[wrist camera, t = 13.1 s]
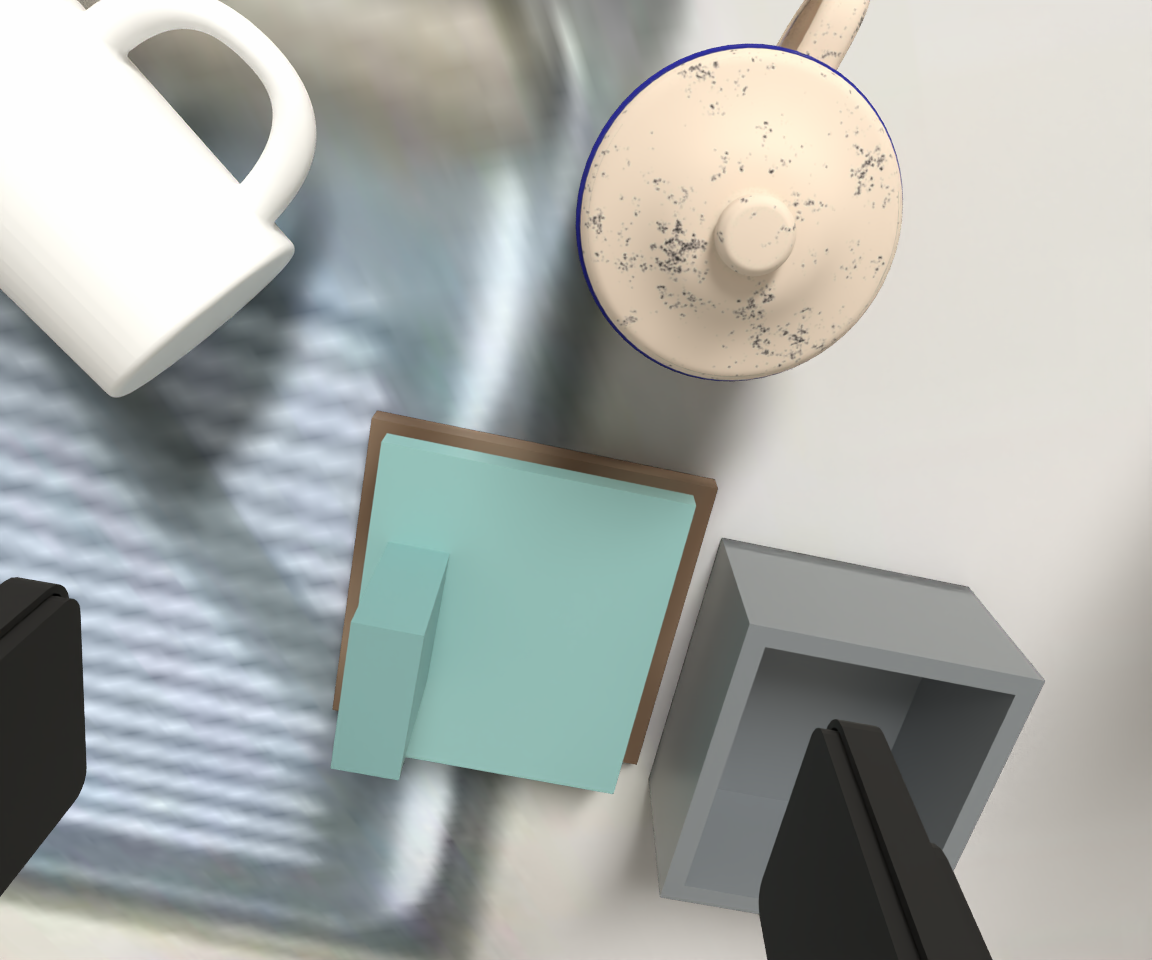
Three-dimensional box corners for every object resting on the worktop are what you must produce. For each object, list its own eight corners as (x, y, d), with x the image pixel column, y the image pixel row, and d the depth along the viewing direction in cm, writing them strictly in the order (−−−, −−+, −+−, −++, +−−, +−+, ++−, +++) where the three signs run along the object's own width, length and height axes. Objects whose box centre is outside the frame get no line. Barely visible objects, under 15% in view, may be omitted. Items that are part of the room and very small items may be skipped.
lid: (689, 483, 36) (717, 581, 29) (611, 760, 41) (617, 905, 34) (393, 423, 35) (340, 506, 28) (351, 713, 40) (296, 851, 33)
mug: (178, 365, 36) (72, 429, 28) (-26, 155, 33) (-204, 166, 25) (402, 165, 33) (349, 178, 25) (199, -83, 30) (73, -150, 23)
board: (714, 479, 37) (717, 488, 36) (635, 750, 42) (636, 764, 41) (377, 410, 36) (371, 418, 35) (338, 696, 41) (332, 709, 40)
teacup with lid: (745, 361, 35) (815, 468, 25) (536, 254, 34) (513, 318, 23) (922, 60, 31) (1100, 29, 20) (694, -76, 30) (756, -187, 19)
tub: (968, 586, 39) (1045, 680, 32) (869, 818, 44) (919, 941, 37) (721, 537, 38) (749, 623, 32) (648, 779, 43) (660, 897, 36)
